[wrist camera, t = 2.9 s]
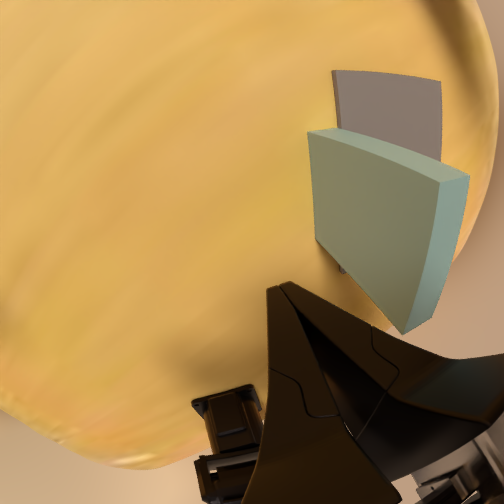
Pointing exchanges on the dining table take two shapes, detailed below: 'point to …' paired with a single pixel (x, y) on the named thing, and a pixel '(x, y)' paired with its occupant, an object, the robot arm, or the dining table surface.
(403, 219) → the tile
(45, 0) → the dining table surface
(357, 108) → the mat
